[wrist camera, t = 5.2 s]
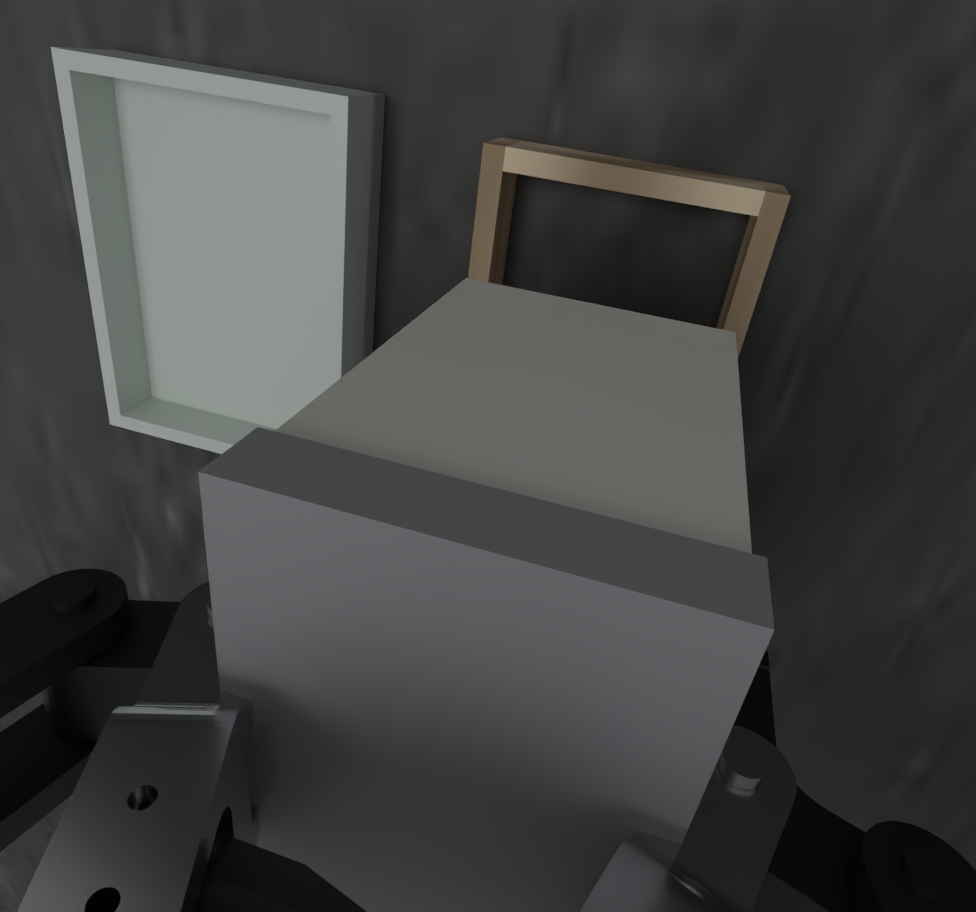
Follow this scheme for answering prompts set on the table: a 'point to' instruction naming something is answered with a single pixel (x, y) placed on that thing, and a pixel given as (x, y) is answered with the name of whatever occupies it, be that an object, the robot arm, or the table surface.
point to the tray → (221, 237)
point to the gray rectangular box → (491, 600)
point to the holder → (639, 179)
